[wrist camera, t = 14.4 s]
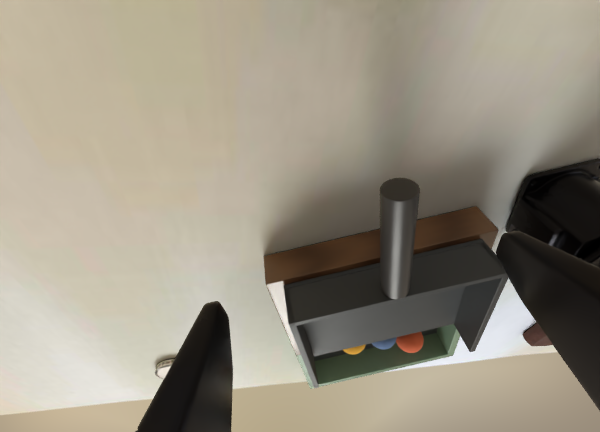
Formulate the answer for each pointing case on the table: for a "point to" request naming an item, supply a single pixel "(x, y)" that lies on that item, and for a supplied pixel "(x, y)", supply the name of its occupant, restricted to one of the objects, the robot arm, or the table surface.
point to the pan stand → (367, 252)
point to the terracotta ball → (410, 342)
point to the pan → (396, 288)
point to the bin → (381, 357)
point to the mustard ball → (354, 349)
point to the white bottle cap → (163, 368)
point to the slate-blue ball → (385, 343)
